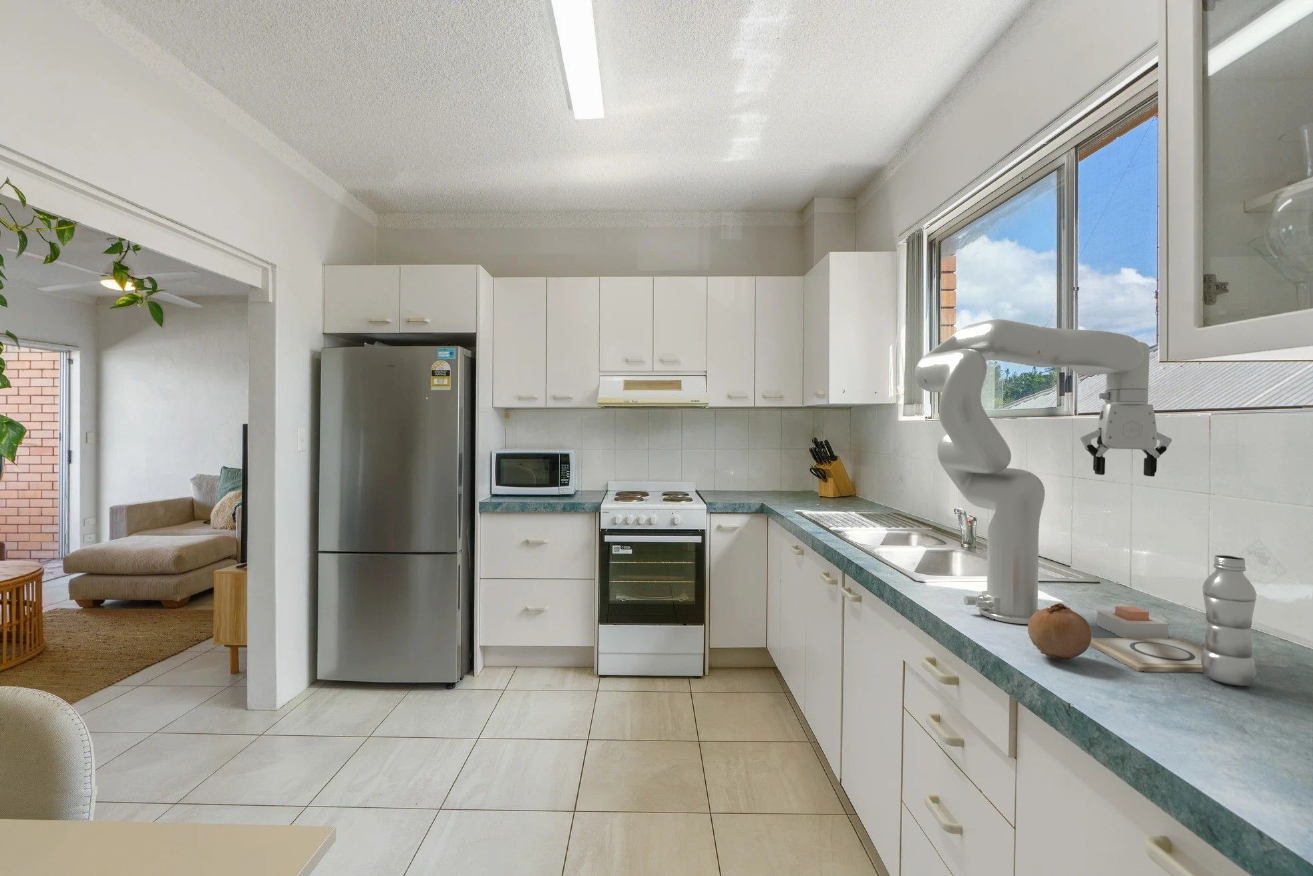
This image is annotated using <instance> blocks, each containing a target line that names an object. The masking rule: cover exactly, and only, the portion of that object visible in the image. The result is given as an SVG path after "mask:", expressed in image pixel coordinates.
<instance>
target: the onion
mask: <svg viewBox="0 0 1313 876" xmlns="http://www.w3.org/2000/svg"><path fill="white" fill-rule="evenodd" d="M1027 634H1028V636H1029V639H1030V641H1031V642H1032V644H1033V646H1035V647H1036V648H1037V650H1039V651H1040V654H1042V655H1045V656H1047V657H1050V658H1054V659H1057V658H1060V659H1059V660H1068V661H1069V660H1070V659H1073V658H1076V657H1080V656H1081V655H1082V654H1084V653H1086V651H1087V650H1088V648H1089V647H1090V643H1091V638H1093V637H1092V629H1091V626H1090V625H1089V622H1088V621H1087V620H1086V618H1084V617H1083V616H1082V615H1081V614H1080V613H1078V612H1076V611H1074V610H1072V609H1071V608H1070V607H1068V606H1066V605H1065V604H1064V603H1061V602H1058V603H1055V604H1053V605H1050V606H1049V607H1046V608H1042V609H1039V611H1038V612H1036V613H1035V614H1033V616H1032V617H1031V618H1030V621H1029V624H1027Z"/></svg>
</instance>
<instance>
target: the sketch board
mask: <svg viewBox="0 0 1313 876" xmlns="http://www.w3.org/2000/svg"><path fill="white" fill-rule="evenodd" d="M1090 645H1091V646H1090ZM1090 645H1089V646H1090V647H1092V648H1094V647H1095V650H1098V651H1099V650H1100V652H1101V651H1102V653H1103V652H1104V654H1105V653H1106V654H1105V655H1107V654H1108V655H1107V656H1109V655H1110V656H1109V657H1111V658H1112V657H1113V659H1114V658H1115V660H1116V659H1117V660H1116V661H1118V662H1120V661H1121V662H1120V663H1122V664H1124V665H1125V664H1126V665H1125V666H1127V665H1128V667H1130V668H1131V667H1132V669H1133V670H1135V671H1136V672H1142V671H1144V672H1145V671H1146V673H1147V672H1151V673H1153V672H1155V673H1157V672H1158V673H1159V672H1161V673H1162V672H1163V673H1204V671H1203V669H1202V664H1201V658H1202V653H1203V650H1204V648H1205V647H1203V646H1200V645H1197V644H1195V643H1193V642H1191V641H1189V640H1185V639H1183V638H1168V639H1147V638H1122V637H1120V638H1119V637H1117V638H1116V637H1092V638H1091V643H1090Z"/></svg>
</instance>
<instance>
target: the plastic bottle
mask: <svg viewBox="0 0 1313 876" xmlns="http://www.w3.org/2000/svg"><path fill="white" fill-rule="evenodd" d="M1212 567H1213V568H1215V571H1213V572H1212V573H1211V574H1210V575H1208V577H1207V578H1206V579H1205V580H1204V582H1203V584H1202V587H1201V588H1202V595H1203V602H1204V603H1203V604H1204V608H1205V620H1206V622H1205V623H1206V630H1205V632H1206V633H1205V641H1204V647H1203V648H1204V650H1203V653H1202V658H1201V664H1202V669H1203V671H1204V672H1203V673H1204V674H1205V675H1206V676H1207V677H1208V678H1209V679H1211V680H1214V681H1216V682H1220V683H1222V684H1226V685H1232V686H1241V687H1245V686H1246V687H1247V686H1250V685H1251V684H1252V683H1253V682H1254V681H1255V678H1256V675H1257V670H1256V662H1255V659H1254V656H1253V655H1254V654H1253V646H1252V645H1253V644H1252V624H1253V615H1254V611H1255V606H1256V600H1257V592H1256V588H1255V587H1254V585H1253V583H1251V581H1250V580H1249V579H1248V578H1247V577H1246V575H1245V574H1244V572H1246V570H1247V568H1246V560H1245V558H1244V557H1241V556H1236V555H1235V556H1234V555H1225V554H1216V555H1214V562H1213V566H1212Z"/></svg>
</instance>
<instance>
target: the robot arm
mask: <svg viewBox="0 0 1313 876" xmlns="http://www.w3.org/2000/svg"><path fill="white" fill-rule="evenodd" d="M987 361H1000V362H1005V363H1012V364H1017V365H1018V364H1019V365H1025V366H1030V367H1036V368H1066V367H1069V368H1070V369H1071V370H1072V371H1073V372H1074V373H1075V374H1079V375H1081V376H1098V375H1105V376H1106V379H1105V380H1106V381H1105V382H1106V385H1105V386H1106V387H1105V391H1104V392H1103V393H1102V392H1100V393H1099V395H1098V398H1099V400H1104V404H1102V405H1101V408H1100V412H1099V416H1098V421H1097V422H1098V423H1097V427H1096V428H1097V429H1096V430H1093V431H1091V432H1089V433H1087V434H1085V435H1083V436H1081V437H1080V441H1081V443H1082V445H1083V446H1084V449H1085V450H1086V451H1087V452H1088V453H1089V454H1090V455H1091V456H1092V457H1093V460H1092V470H1093V471H1094V475H1097V476H1098V475H1099V476H1104V475H1105V473H1106V457H1105V456H1104V455H1105V454H1106V453H1107V452H1108V451H1109V449H1111V450H1140V451H1142V452H1143V454H1144V455H1146V457H1144V458H1143V476H1145V477H1155V476H1156V473H1157V467H1158V459H1159V458H1160V457H1161V455H1163V454H1164V453H1165V452H1166V451H1167V450H1168V449H1167V448H1168V447H1169V446H1170V444H1171V443H1172V441H1173V440H1172V438H1171V437H1168V436H1167V435H1164V434H1162V433H1160V432H1158V431H1157V419H1156V414H1155V410H1154V406H1153V404H1149V380H1150V379H1149V377H1150V346H1149V345H1148V344H1147V343H1146V342H1144V341H1139V340H1137V339H1136V338H1134V337H1133V336H1130V335H1128V334H1122V333H1117V332H1111V331H1106V330H1105V331H1104V330H1095V329H1094V330H1093V329H1075V328H1073V329H1072V328H1059V327H1055V328H1054V327H1046V326H1041V325H1036V324H1030V323H1025V322H1020V321H1014V320H1008V319H1002V318H1001V319H999V318H998V319H989V320H986V321H982V322H977V323H972V324H968V325H967V326H964V327H962V328H960V329H958V330H957V331H955V332H954V333H953V334H952V335H950V336H949V337H947V338H946V339H945V340H943V341H942V342H941V343H940V344H938V345H936V347H934V348H933V349H931V350H930V351H929V352H927V353H926V354H925V355H924V356H922V357H921V359H920V360H919V361H918V362H917V364H916V365H915V370H914V377H915V378H914V379H915V382H916V383H917V385H918V386H919V387H920V388H921V389H923V390H924V391H925V392H931V393H941V394H940V400H939V407H938V418H939V422H940V424H941V426H942V427H943V429H944V430H945V432H946V433H944V434H943V435H942V436H941V438H940V439H939V441H938V443H937V448H936V449H937V451H936V452H937V453H936V454H937V459H938V461H939V463H940V465H941V467H942V468H943V471H945V473H946V474H947V475H948V477H949V478H950V480H951V481H952V482H953V484H954V485H955V487H956V488H957V489H958V491H959V492H960V493H961V496H963V497H964V498H965V500H966V501H968V503H970V504H971V505H973V506H975V507H978V508H982V509H987V510H991V511H992V510H993V511H994V514H993V515H992V517H991V519H990V522H989V525H988V527H987V528H988V529H987V537H986V538H987V540H986V541H987V549H986V550H987V557H986V558H987V559H986V560H987V563H986V565H987V566H986V567H987V570H986V577H987V579H986V590H982V591H981V594H979V595H978V596H974V595H964V596H963V603H964V605H966V606H975V607H976V608H978V612H979V614H981V615H982V616H984V617H987V618H988V617H989V619H991V620H994V619H995V621H999V622H1005V623H1010V624H1017V625H1028V624H1029V621H1030V618H1031V617H1032V616H1033V614H1035V613H1036V612H1038V611H1039V610H1040V608H1039V533H1040V530H1039V529H1040V521H1041V520H1040V519H1041V515H1042V509H1043V506H1044V502H1045V495H1046V493H1045V492H1046V491H1045V486H1044V483H1043V482H1042V480H1041V478H1039V476H1038V475H1036V474H1034V473H1033V472H1031V471H1028V470H1025V469H1020V468H1014V467H1013V468H1011V467H1009V465H1010V464H1011V460H1012V452H1011V449H1010V447H1009V444H1008V443H1007V441H1006V440H1005V438H1004V437H1003V436H1002V435H1001V433H1000V431H999V430H998V429H997V427H996V425H995V423H993V421H992V420H991V419H990V417H989V416H988V414H987V412H986V411H985V409H984V406H983V404H982V390H983V386H984V383H985V381H986V380H985V379H986V377H987V372H988V369H987V368H988V367H987V366H988V365H987ZM1094 439H1096V444H1097V446H1096V447H1095V445H1093V443H1092V440H1094ZM1158 441H1159V445H1158V446H1157V442H1158Z"/></svg>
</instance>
